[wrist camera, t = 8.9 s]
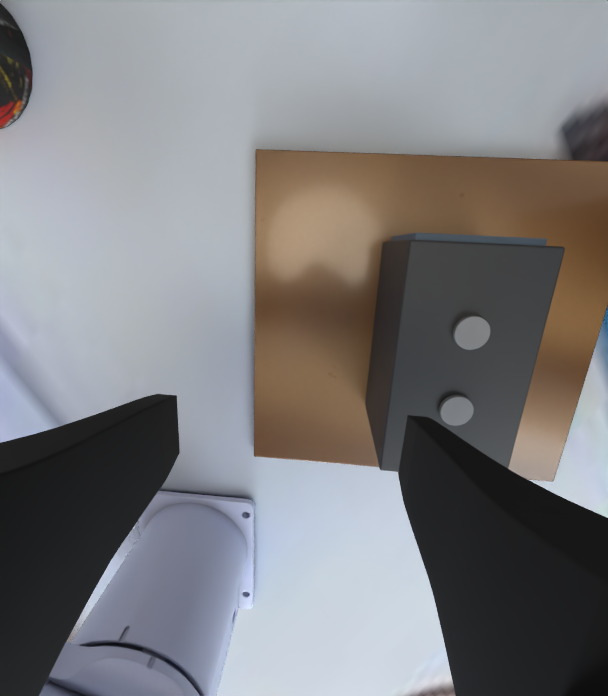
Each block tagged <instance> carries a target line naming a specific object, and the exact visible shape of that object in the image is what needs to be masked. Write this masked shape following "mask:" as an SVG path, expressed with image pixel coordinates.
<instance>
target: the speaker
mask: <svg viewBox="0 0 608 696" xmlns="http://www.w3.org/2000/svg"><path fill="white" fill-rule="evenodd" d="M546 242H547V239H545V238H523V237H502V236H481V235H459V234H438V233H411V234H405V235H398V236H392V237H391V241H388V242H383V245H382V254H381V264H380V273H379V282H378V291H377V300H376V309H375V318H374V328H373V337H372V346H371V355H370V364H369V373H368V382H367V392H366V401H365V406H366V411H367V415H368V420H369V424H370V428H371V433H372V437H373V441H374V446H375V450H376V455H377V459H378V463H379V468H380V470H384V471H396V472H398V471H399V465H400V459H401V453H402V447H403V440H404V434H405V428H406V422H407V416H408V415H411V416H423V417H429V418H431V419H433V420H435V421H436V422H438V423H439V424H441V425H442V426H444V427H445V428H447V429H448V430H450V431H451V432H453V433H454V434H456V435H457V436H459V437H460V438H461V439H463V440H464V441H466V442H467V443H469V444H470V445H472V446H473V447H475V448H476V449H478V450H479V451H481V452H482V453H484V454H485V455H487V456H488V457H490V458H492V459H493V460H495V461H496V462H498V463H500V464H501V465H503V466H505V467H506V468H508V467H509V464H510V460H511V456H512V452H513V448H514V444H515V440H516V437H517V433H518V429H519V425H520V421H521V417H522V413H523V410H524V406H525V402H526V398H527V394H528V390H529V386H530V383H531V379H532V375H533V371H534V367H535V363H536V359H537V356H538V352H539V348H540V344H541V340H542V336H543V332H544V329H545V325H546V321H547V317H548V313H549V309H550V305H551V302H552V298H553V294H554V290H555V286H556V282H557V278H558V275H559V271H560V267H561V263H562V259H563V255H564V251H565V248H564V247H560V246H546Z"/></svg>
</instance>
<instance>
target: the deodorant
mask: <svg viewBox="0 0 608 696" xmlns="http://www.w3.org/2000/svg"><path fill="white" fill-rule="evenodd" d="M31 85H32V67H31V61H30V55H29V51H28V48H27V45H26V42H25V40H24V37H23V34H22V32H21V30H20V29H19V27H18V26H17V24H16V22H15V21H14V19H13V17H12V16H11V14H10V13H9V12H8V11H7V10H6V9H5V8H4V7H3V6H2V5H1V4H0V129H1V128H4V127H7V126H8V125H10V124H11V123H12V122H14V121H15V120H16V119H17V118H19V116H20V114H21V113H22V111H23V110H24V108H25V107H26V105H27V102H28V99H29V95H30V92H31Z"/></svg>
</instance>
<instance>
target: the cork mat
mask: <svg viewBox="0 0 608 696" xmlns="http://www.w3.org/2000/svg"><path fill="white" fill-rule="evenodd" d="M411 233H438V234H459V235H481V236H502V237H523V238H545V239H547V242H546V246H560V247H564V248H565V251H564V255H563V259H562V263H561V267H560V271H559V275H558V278H557V282H556V286H555V290H554V294H553V298H552V302H551V305H550V309H549V313H548V317H547V321H546V325H545V329H544V332H543V336H542V340H541V344H540V348H539V352H538V356H537V359H536V363H535V367H534V371H533V375H532V379H531V383H530V386H529V390H528V394H527V398H526V402H525V406H524V410H523V413H522V417H521V421H520V425H519V429H518V433H517V437H516V440H515V444H514V448H513V452H512V456H511V460H510V464H509V467H508V469H510V470H511V471H513V472H515V473H516V474H518V475H520V476H522V477H523V478H525V479H529V480H541V481H554V478H555V475H556V471H557V468H558V465H559V462H560V459H561V455H562V452H563V449H564V446H565V442H566V439H567V436H568V433H569V429H570V426H571V423H572V420H573V416H574V413H575V410H576V407H577V403H578V400H579V397H580V394H581V390H582V387H583V384H584V381H585V377H586V374H587V371H588V368H589V364H590V361H591V358H592V355H593V352H594V348H595V345H596V342H597V339H598V335H599V332H600V329H601V326H602V322H603V319H604V316H605V313H606V309H607V306H608V161H580V160H551V159H523V158H494V157H465V156H436V155H407V154H378V153H349V152H320V151H291V150H262V149H257V150H256V181H255V359H254V456H255V457H267V458H278V459H290V460H302V461H314V462H326V463H338V464H350V465H362V466H374V467H379V463H378V459H377V455H376V450H375V446H374V441H373V437H372V433H371V428H370V424H369V420H368V415H367V411H366V406H365V401H366V392H367V382H368V373H369V364H370V355H371V346H372V337H373V328H374V318H375V309H376V300H377V291H378V282H379V273H380V264H381V254H382V245H383V242H388V241H391V237H392V236H398V235H405V234H411Z"/></svg>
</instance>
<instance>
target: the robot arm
mask: <svg viewBox="0 0 608 696" xmlns="http://www.w3.org/2000/svg"><path fill="white" fill-rule="evenodd" d="M178 455H179V433H178V414H177V396H174V395H163V394H156V395H151V396H147V397H144V398H141V399H138V400H135V401H132V402H129V403H126V404H124V405H121V406H118V407H115V408H113V409H110V410H107V411H104V412H102V413H99V414H96V415H93V416H90V417H87V418H84V419H81V420H78V421H75V422H72V423H69V424H66V425H63V426H60V427H57V428H54V429H51V430H47V431H44V432H40V433H37V434H33V435H29V436H26V437H22V438H18V439H14V440H10V441H6V442H2V443H0V696H217V692H218V688H219V684H220V680H221V676H222V672H223V668H224V664H225V660H226V656H227V652H228V648H229V644H230V640H231V636H232V632H233V628H234V624H235V620H236V616H237V612H238V608H241V609H250V608H251V607H252V606H253V602H254V511H255V506H254V503H253V501H251V500H250V499H243V498H232V497H221V496H210V495H199V494H188V493H177V492H166V491H159V489H160V488H161V486H162V485H163V483H164V482H165V480H166V478H167V477H168V475H169V473H170V471H171V469H172V467H173V465H174V463H175V461H176V459H177V457H178ZM398 474H399V480H400V486H401V491H402V496H403V501H404V505H405V508H406V511H407V514H408V517H409V520H410V524H411V527H412V530H413V533H414V536H415V539H416V542H417V545H418V548H419V551H420V554H421V557H422V560H423V563H424V566H425V569H426V572H427V574H428V577H429V581H430V584H431V588H432V591H433V595H434V599H435V603H436V607H437V612H438V616H439V620H440V625H441V629H442V633H443V638H444V642H445V647H446V652H447V656H448V661H449V666H450V670H451V675H452V680H453V685H454V689H455V694H456V696H608V518H606V517H604V516H602V515H600V514H597V513H595V512H593V511H590V510H588V509H586V508H584V507H581V506H579V505H577V504H575V503H573V502H570V501H568V500H566V499H564V498H562V497H560V496H558V495H556V494H554V493H552V492H550V491H548V490H546V489H544V488H542V487H540V486H539V485H537V484H535V483H533V482H531V481H529V480H527V479H525V478H523V477H522V476H520V475H518V474H516V473H515V472H513V471H511V470H510V469H508V468H506V467H505V466H503V465H501V464H500V463H498V462H496V461H495V460H493V459H492V458H490V457H488V456H487V455H485V454H484V453H482V452H481V451H479V450H478V449H476V448H475V447H473V446H472V445H470V444H469V443H467V442H466V441H464V440H463V439H461V438H460V437H459V436H457V435H456V434H454V433H453V432H451V431H450V430H448V429H447V428H445V427H444V426H442V425H441V424H439V423H438V422H436V421H435V420H433V419H431V418H429V417H423V416H411V415H408V416H407V422H406V428H405V434H404V440H403V447H402V453H401V459H400V465H399V471H398ZM244 512H248V513H249V514H246V513H244ZM137 521H138V525H139V533H140V537H139V538H138V540H137V541H136V543H135V544H134V546H133V548H132V549H131V551H130V552H129V554H128V555H127V557H126V558H125V560H124V561H123V563H122V564H121V566H120V567H119V569H118V571H117V572H116V574H115V575H114V577H113V578H112V580H111V581H110V583H109V584H108V586H107V587H106V589H105V590H104V592H103V593H102V595H101V597H100V598H99V600H98V601H97V603H96V604H95V606H94V607H93V609H92V610H91V612H90V613H89V615H88V616H87V618H86V620H85V621H84V623H83V624H82V626H81V627H80V629H79V630H78V632H77V633H76V635H75V636H74V638H73V639H72V641H71V642H70V643H69V642H66V641H67V639H68V637H69V635H70V634H71V632H72V630H73V628H74V626H75V624H76V622H77V620H78V619H79V617H80V615H81V613H82V611H83V609H84V607H85V605H86V604H87V602H88V600H89V598H90V596H91V594H92V593H93V591H94V589H95V587H96V586H97V584H98V582H99V580H100V579H101V577H102V575H103V573H104V571H105V570H106V568H107V566H108V564H109V563H110V561H111V559H112V558H113V556H114V555H115V553H116V552H117V550H118V548H119V547H120V545H121V544H122V542H123V541H124V540H125V538H126V537H127V535H128V534H129V532H130V531H131V530H132V528H133V527H134V525H135V524H136V522H137Z"/></svg>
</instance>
